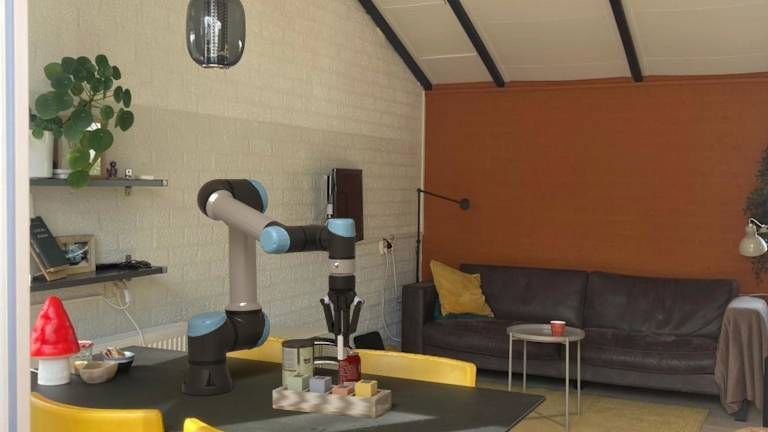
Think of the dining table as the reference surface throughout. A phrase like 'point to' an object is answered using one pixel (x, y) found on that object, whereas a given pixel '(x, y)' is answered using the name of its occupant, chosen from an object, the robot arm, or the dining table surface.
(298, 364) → the coffee can
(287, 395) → the wooden tray
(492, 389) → the dining table surface
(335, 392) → the terracotta key
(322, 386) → the slate key
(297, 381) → the sage key
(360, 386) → the mustard key
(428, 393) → the dining table surface
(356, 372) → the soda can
